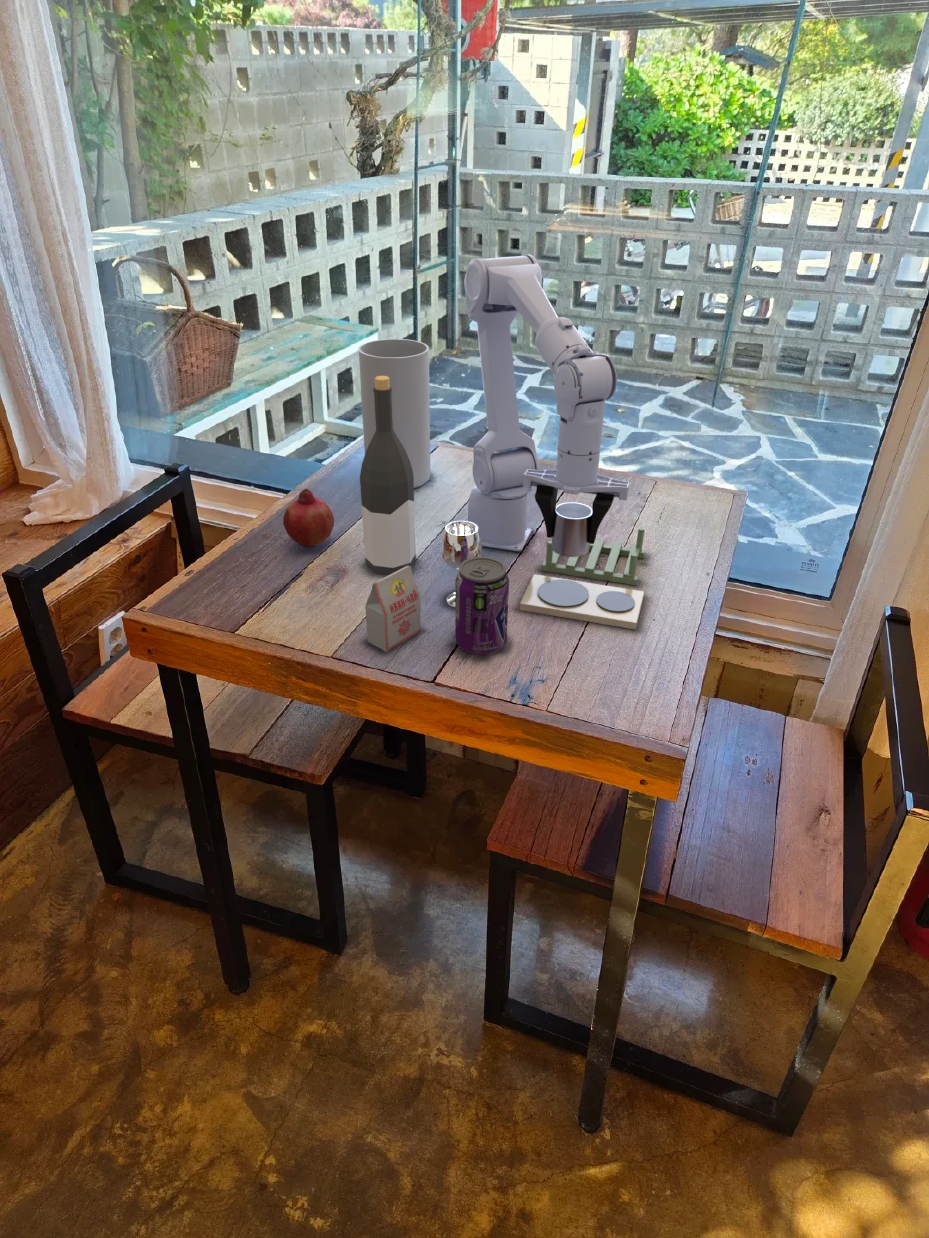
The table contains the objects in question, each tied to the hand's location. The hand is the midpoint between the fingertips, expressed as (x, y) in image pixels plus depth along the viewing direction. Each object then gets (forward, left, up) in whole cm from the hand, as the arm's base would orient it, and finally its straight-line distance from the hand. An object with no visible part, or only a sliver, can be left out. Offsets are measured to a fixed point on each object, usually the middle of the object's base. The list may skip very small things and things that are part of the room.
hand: (571, 537), depth 119 cm
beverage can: (-9, -16, -10) cm, 21 cm away
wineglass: (-15, -6, -10) cm, 19 cm away
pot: (0, 0, -2) cm, 2 cm away
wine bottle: (-29, +1, -10) cm, 31 cm away
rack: (+2, +12, -10) cm, 16 cm away
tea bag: (-21, -18, -10) cm, 29 cm away
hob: (+3, -1, -10) cm, 11 cm away
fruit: (-44, +3, -10) cm, 45 cm away
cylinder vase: (-40, +33, -10) cm, 53 cm away
